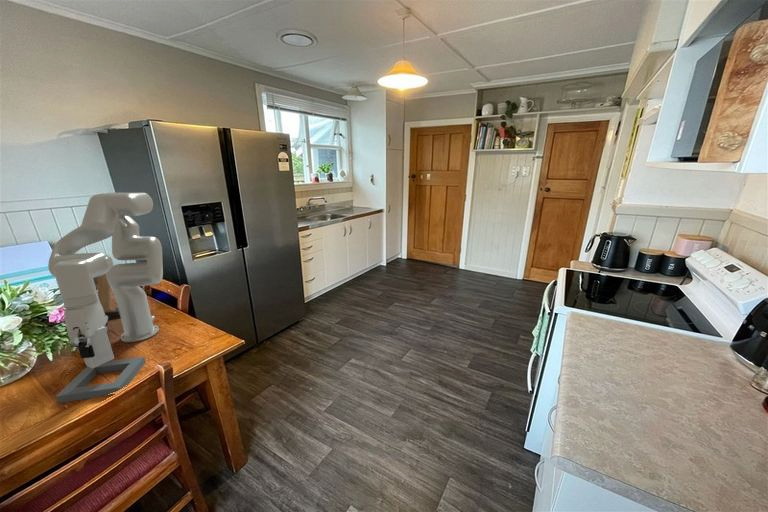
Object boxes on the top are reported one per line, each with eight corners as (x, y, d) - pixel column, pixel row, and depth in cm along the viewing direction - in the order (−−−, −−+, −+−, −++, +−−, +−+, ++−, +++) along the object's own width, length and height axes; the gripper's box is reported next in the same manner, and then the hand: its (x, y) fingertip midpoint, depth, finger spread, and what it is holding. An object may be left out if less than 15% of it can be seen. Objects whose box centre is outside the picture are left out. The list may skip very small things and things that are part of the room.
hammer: (134, 314, 145) (135, 256, 139) (132, 319, 141) (134, 259, 136) (76, 318, 133) (75, 254, 128) (73, 323, 129) (71, 257, 124)
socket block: (92, 369, 103) (90, 363, 102) (145, 362, 107) (144, 356, 107) (57, 403, 88) (55, 396, 88) (121, 393, 93) (119, 387, 92)
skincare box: (108, 355, 99) (99, 323, 96) (115, 359, 97) (106, 326, 94) (84, 365, 94) (74, 332, 90) (91, 369, 92) (81, 336, 89)
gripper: (85, 289, 96) (99, 337, 101) (42, 314, 80) (61, 368, 85) (113, 287, 98) (125, 334, 103) (76, 311, 82) (93, 365, 87)
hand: (96, 349), depth 94 cm, fingers closed on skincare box, 7 cm apart
